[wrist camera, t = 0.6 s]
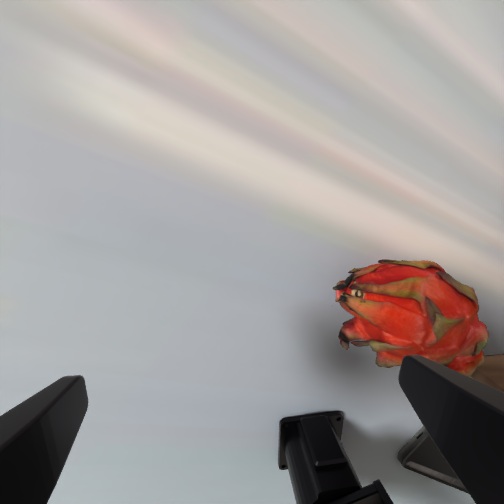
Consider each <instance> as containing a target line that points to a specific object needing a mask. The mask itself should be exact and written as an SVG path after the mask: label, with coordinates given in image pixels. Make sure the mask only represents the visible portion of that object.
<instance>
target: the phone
mask: <svg viewBox="0 0 504 504" xmlns="http://www.w3.org/2000/svg"><path fill="white" fill-rule="evenodd" d="M421 432H422V433H423V434H422V435H421V436H420V437H419V438H418V439H417V438H416V437H417V436H418V435H419V434H420V433H421ZM398 459H399V461H400V462H401V464H402V465H403V467H405V468H407V469H409V470H412V471H414V472H417V473H419V474H422V475H424V476H427V477H429V478H431V479H434V480H436V481H439V482H441V483H444V484H446V485H449V486H451V487H454V488H456V489H459V490H461V491H464V492H466V493H468V491H467V490H466V488H465V487H464V485H463V484H462V482H461V481H460V480H459V478H458V477H457V475H456V474H455V472H454V471H453V470H452V468H451V467H450V465H449V464H448V462H447V461H446V459H445V458H444V457H443V455H442V454H441V452H440V451H439V449H438V448H437V446H436V445H435V443H434V442H433V440H432V439H431V437H430V435H429V434H428V432H427V430H426V429H425V427H424V426H423V427H422V428H421V429H420V430H419V431H418V432H417V433H416V434H415V436H414V437H413V438H412V439H411V440H410V441H409V442H408V443H407V444H406V445H405V446H404V447H403V448H402V449H401V450H400V452H399V453H398Z"/></svg>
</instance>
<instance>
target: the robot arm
mask: <svg viewBox="0 0 504 504" xmlns="http://www.w3.org/2000/svg"><path fill="white" fill-rule="evenodd" d="M399 384H400V386H401V388H402V390H403V392H404V393H405V395H406V397H407V398H408V400H409V402H410V403H411V405H412V407H413V408H414V410H415V412H416V414H417V415H418V417H419V419H420V420H421V422H422V424H423V425H424V427H425V429H426V430H427V432H428V434H429V435H430V437H431V439H432V440H433V442H434V443H435V445H436V446H437V448H438V449H439V451H440V452H441V454H442V455H443V457H444V458H445V459H446V461H447V462H448V464H449V465H450V467H451V468H452V470H453V471H454V472H455V474H456V475H457V477H458V478H459V480H460V481H461V482H462V484H463V485H464V487H465V488H466V490H467V491H468V493H469V494H470V495H471V497H472V498H473V500H474V501H475V503H476V504H504V392H502V391H500V390H498V389H495V388H493V387H491V386H489V385H486V384H484V383H482V382H480V381H477V380H475V379H473V378H471V377H468V376H466V375H464V374H462V373H459V372H457V371H455V370H453V369H450V368H448V367H446V366H444V365H441V364H439V363H437V362H435V361H432V360H430V359H428V358H426V357H423V356H421V355H417V354H415V355H406V356H404V357H403V359H402V363H401V368H400V372H399ZM87 408H88V397H87V391H86V385H85V380H84V378H83V376H81V375H75V376H65V377H62V378H60V379H59V380H57V381H56V382H54V383H52V384H51V385H49V386H48V387H46V388H44V389H43V390H41V391H40V392H38V393H36V394H35V395H33V396H32V397H30V398H28V399H27V400H25V401H24V402H22V403H20V404H19V405H17V406H16V407H14V408H12V409H11V410H9V411H8V412H6V413H4V414H3V415H1V416H0V504H47V502H48V500H49V498H50V496H51V494H52V492H53V490H54V488H55V486H56V484H57V481H58V479H59V477H60V474H61V472H62V470H63V467H64V465H65V462H66V460H67V458H68V455H69V453H70V450H71V448H72V445H73V443H74V441H75V438H76V436H77V433H78V431H79V428H80V426H81V423H82V421H83V419H84V416H85V414H86V411H87ZM343 419H344V418H343V415H342V413H341V412H330V413H322V414H314V415H307V416H299V417H291V418H284V419H282V420H281V421H280V423H279V450H278V465H279V469H281V470H285V469H288V470H289V474H290V478H291V483H292V487H293V491H294V495H295V499H296V503H297V504H393V502H392V500H391V499H390V497H389V495H388V494H387V492H386V490H385V489H384V487H383V485H382V484H381V482H380V480H379V479H378V480H376V481H374V482H373V484H371V485H368V486H366V487H363V488H362V486H361V484H360V481H359V479H358V477H357V475H356V473H355V471H354V469H353V467H352V464H351V462H350V460H349V458H348V456H347V454H346V452H345V449H344V447H343V445H342V443H341V434H342V426H343Z"/></svg>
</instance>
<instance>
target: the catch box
mask: <svg viewBox="0 0 504 504" xmlns="http://www.w3.org/2000/svg"><path fill="white" fill-rule="evenodd" d="M471 377H472V378H473V379H475V380H477V381H480V382H482V383H484V384H486V385H489V386H491V387H493V388H495V389H498V390H500V391H502V392H504V354H501V355H492V356H484V363H483V366H482V367H476V369H475V371H474V372H473V373H472V376H471Z"/></svg>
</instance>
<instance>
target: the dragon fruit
mask: <svg viewBox="0 0 504 504" xmlns="http://www.w3.org/2000/svg"><path fill="white" fill-rule="evenodd" d="M378 262H379V263H380V264H374V265H371V266H368V267H365V268H359V269H355V268H354V269H353V270H352V271H350V272H348V273H353V274H351V275H350V276H349V277H348V278H347V279H346V280H345V281H340V282H338V283H337V286H335V287H333V289H334V290H336V302H339V303H340V305H341V306H342V307H343V308H344V309H345V310H346V311H348V312H349V313H351V314H352V315H354V316H355V317H354V318H353V319H351V320H349V321H346V322H344V323H343V327H342V328H341V330H340V332H339V339H340V344H341V346H342V347H343V348H345V349H346V350H348V348H349V342H350V341H352V340H354V339H361V340H367V341H354V342H351V343H352V344H353V345H355V346H367V345H370V347H371V348H372V349H373V351H375V352H377V357H376V364H377V365H378V366H380V367H382V366H383V367H386V368H390V367H393V366H399V365H401V363H402V359H403V357H404V356H406V355H415V354H417V355H421V356H423V357H426V358H428V359H430V360H432V361H435V362H437V363H439V364H441V365H444V366H446V367H448V368H450V369H453V370H455V371H457V372H459V373H462V374H464V375H466V376H468V377H471V376H472V373H473V372H474V371H475V369H476V367H482V366H483V363H484V354H483V352H482V348H483V347H485V345H486V343H487V342H488V337H489V333H488V330H487V327H486V325H485V324H484V323H482V322H480V321H479V320H478V316H477V312H478V310H479V305H478V299H477V296H476V294H475V291H474V289H473V288H471V287H469V286H466V285H463V284H461V283H459V282H458V281H456V280H455V279H454V278H452V276H450V275H449V274H447V273H446V272H445V271H444V269H443V268H441V267H440V266H439V265H438V264H437V263H435V262H431V261H403V260H402V261H396V260H379V261H378Z"/></svg>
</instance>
